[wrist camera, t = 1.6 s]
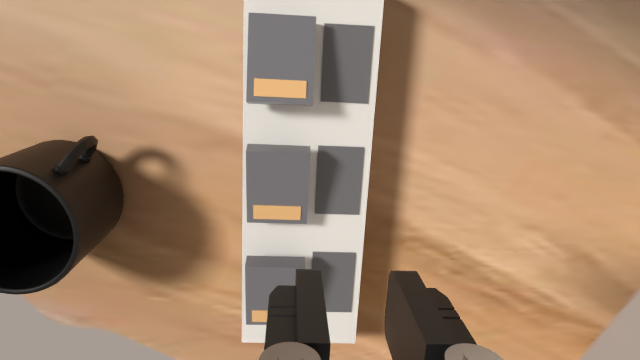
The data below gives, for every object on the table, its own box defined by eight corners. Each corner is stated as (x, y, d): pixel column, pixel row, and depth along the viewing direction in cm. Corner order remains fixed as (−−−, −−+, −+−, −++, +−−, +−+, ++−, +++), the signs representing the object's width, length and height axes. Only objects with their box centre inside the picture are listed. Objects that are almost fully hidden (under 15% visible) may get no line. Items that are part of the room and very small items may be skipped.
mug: (163, 160, 39) (126, 192, 31) (88, 262, 41) (34, 319, 33) (64, 91, 37) (-5, 104, 28) (-9, 201, 39) (-94, 245, 31)
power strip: (249, -22, 36) (243, -31, 32) (375, -14, 36) (386, -22, 32) (246, 316, 44) (241, 343, 40) (349, 317, 45) (355, 344, 41)
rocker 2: (247, 143, 34) (245, 151, 32) (310, 146, 34) (310, 154, 33) (248, 212, 36) (246, 223, 35) (306, 214, 37) (306, 224, 35)
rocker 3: (246, 255, 36) (244, 267, 35) (304, 256, 36) (305, 268, 35) (247, 312, 39) (245, 325, 38) (301, 313, 39) (301, 326, 38)
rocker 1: (250, 18, 32) (248, 12, 31) (315, 22, 33) (316, 16, 31) (247, 103, 33) (246, 101, 31) (311, 106, 33) (313, 104, 32)
